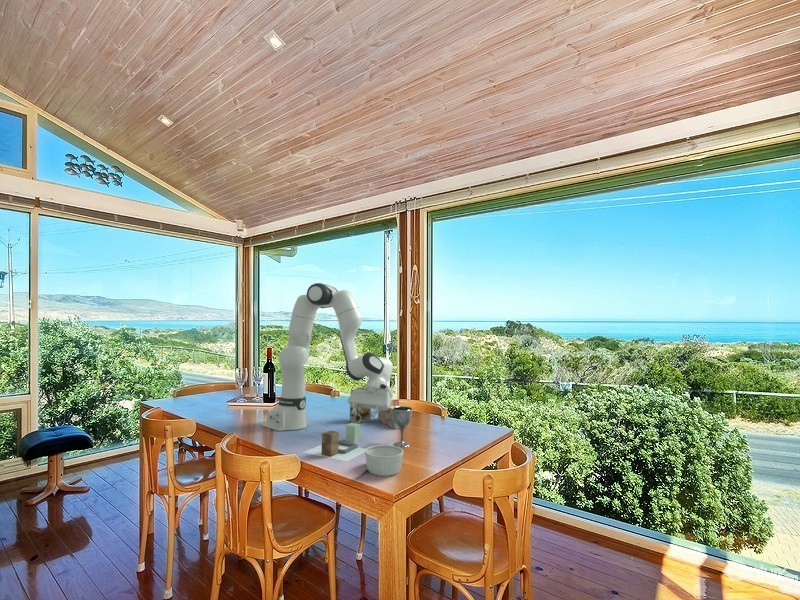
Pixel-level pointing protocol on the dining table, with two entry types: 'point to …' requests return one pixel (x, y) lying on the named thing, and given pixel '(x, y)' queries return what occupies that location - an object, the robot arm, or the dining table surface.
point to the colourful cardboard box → (389, 414)
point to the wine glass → (402, 421)
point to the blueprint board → (340, 451)
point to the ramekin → (383, 459)
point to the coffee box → (360, 414)
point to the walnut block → (330, 443)
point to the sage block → (353, 432)
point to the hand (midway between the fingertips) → (362, 415)
